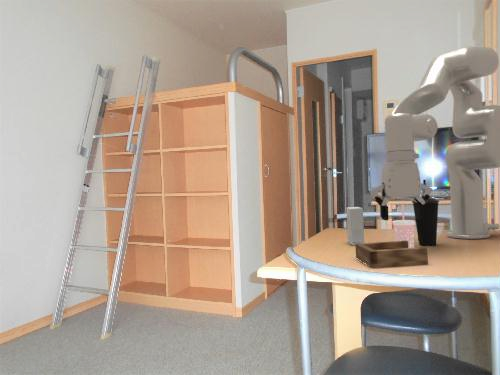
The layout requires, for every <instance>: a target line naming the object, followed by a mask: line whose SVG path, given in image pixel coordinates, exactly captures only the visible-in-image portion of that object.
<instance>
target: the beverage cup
mask: <svg viewBox="0 0 500 375" xmlns="http://www.w3.org/2000/svg"><path fill="white" fill-rule="evenodd" d="M404 206H405V205H404V203H402V202H401V213H402V219H396V220H391V222H392V225H393V232H394V241H408V248H415V225H416V220H413V219H405V207H404Z"/></svg>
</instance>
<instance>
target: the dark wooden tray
mask: <svg viewBox="0 0 500 375" xmlns="http://www.w3.org/2000/svg"><path fill="white" fill-rule="evenodd" d="M354 246H355V259H356V258H358V259H359V260H361V261H362V262H361V261H360V262H361V263H363V262H364V263H366V264H367V265H369V266H370V267H369V266H368V267H369V268H370V269H376V268H375V267H381V268H395V267H409V266H408V265H411V266H421V265H420V264H425V265H428V264H429V259H428V258H429V257H428V247H427V246H419V247H414V248H408V241H395V240H394V241H393V240H392V241H391V240H389V241H379V242H378V241H377V242H365V243H360V244H355V245H354ZM358 259H357V260H358ZM359 260H358V261H359ZM364 263H363V264H364ZM366 264H365V265H366ZM367 265H366V266H367Z"/></svg>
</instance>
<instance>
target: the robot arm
mask: <svg viewBox="0 0 500 375" xmlns="http://www.w3.org/2000/svg"><path fill="white" fill-rule="evenodd" d="M499 64H500V58H499V54H498V53H497V52H496V50H494V49H493V48H491V47H488V46H487V47H486V46H465V47H461V48H458V49H454V50H452V51H448V52H444V53H441V54H439V55H437V56H435V57H434V58H433V59H432V60H431V61H430V62H429V64H428V67H427V69H426V71H425V73H424V75H423V77H422V78H421V80H420V83H419V86H418V87H417V88H416V89H414V90H413V91H412V92H411V93H410V94H408V95H407V96H406V97H405V98H404V99H403V100H401V101H400V102H399V103H398V104H397V106H395V108H394V109H393V111H391V113H390V114H389V115H387V116H385V118H384V138H385V139H384V141H385V142H384V144H385V163H383V164H382V167H381V168H382V169H381V175H380V184H379V185H378V186H376V187H374V188H372V189H371V190H370V191H369V192H370V195H371V197H372V199H373V201H375V202H376V203H377V204H378V205H379V210H380V211H379V213H380V214H379V216H380V218H381V220H382V221H389V218H390V217H389V206H388V205H387V204H388V203H389V201H390V200H393V199H394V200H396V199H397V200H398V199H412V200H413V201H414V200H415V202H416V204H415V214H414V218H418V219H423V215H424V207H423V204H425V202H426V201H427V200H428V199H429V197H431V194H432V192H433V188H431V187H430V186H427V184H426V185H424V184H423V182H421V174H420V170H419V166H418V163H417V162H416V159H419V158H420V154H419V153H416V151H415V142H420V141H426V140H427V141H428V140H429V139H431V138H433V137H434V136H435V135H436V133H437V131H438V130H439V129H438V128H439V127H438V122H437V120H436V118H435V116H434V117H433V115H431V114H428V113H424V112H427V111H428V110H431V109H433V108H434V107H437V106H438V105H440V104H441V103H442V102H444V101H445V100H446V98H447V95H448V93H449V91H450V92H451V94H452V98H453V107H452V108H453V109H452V110H453V112H452V123H451V124H452V133H453V135H454V136H455V137H456V138H458V139H459V138H460V139H468V138H469V139H470V138H478V137H479V138H481V137H486V138H485V139H484V138H483V139H476V140H475V139H474V140H473V139H472V140H466V141H465V140H464V141H458V142H455V143H451V144H450V145H448V147H447V148H446V149H445V153H444V154H445V155H444V156H445V157H444V158H445V163H446V166H447V170H448V175H449V176H448V178H449V188H450V189H449V191H450V193H449V194H450V209H451V210H450V212H451V215H450V216H451V231H448V232H446V235H447V237H449V238H453V239H454V238H455V239H462V240H464V239H465V240H469V239H470V240H473V239H474V240H476V239H477V240H478V239H480V240H481V239H487V238H490V237H491V232H490V231H491V230H499V229H500V224H499V223H488V222H486V221H485V208H484V206H485V205H484V186H483V182H482V179H481V178H480V176H479V175H478V174H477V172H476V171H475V170H492V169H498V168H500V105H497V104H491V105H483V92H482V91H481V90H480V89H479V88H478V86H477V85H475V83H473V82H471V80H474V79H479V78H483V77H487V76H491V75H494V73H496V71H497V70H498V68H499ZM422 190H423V194H422ZM424 191H425V193H424ZM379 192H380V196H379ZM421 195H422V196H421Z"/></svg>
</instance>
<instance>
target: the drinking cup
mask: <svg viewBox="0 0 500 375" xmlns="http://www.w3.org/2000/svg"><path fill="white" fill-rule="evenodd" d="M422 180H423V181H422V184H424V185H426V186H427V182H426V181H427V180H426V179H422ZM424 193H425V191H424V190H423V194H424ZM439 202H440V200H439V199H437V198H435V197H432V196H429V199H428V200H427V201H426V202H425V204H423V207H424V215H423V219H418V218H415V217H414V218H415V220H414V221H415V226H416V233H417V239H418V246H419V247H435V246H437V236H438V218H439V217H438V216H439ZM411 203H412V206H413V213H414V215H415V204H416V202H415V200H414V199H413V200H412V201H411Z"/></svg>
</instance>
